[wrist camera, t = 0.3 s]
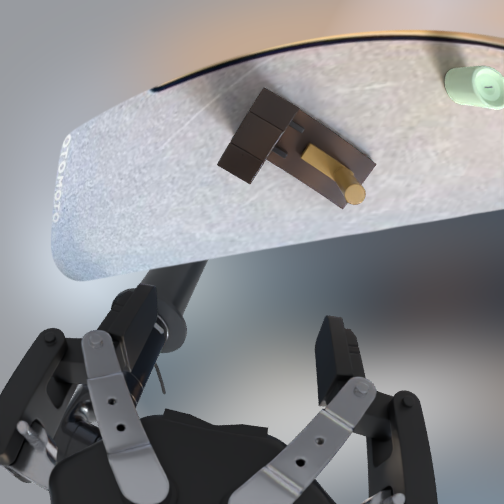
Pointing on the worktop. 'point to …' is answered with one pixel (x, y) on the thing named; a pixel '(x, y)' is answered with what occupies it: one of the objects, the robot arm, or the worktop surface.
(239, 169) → the latch
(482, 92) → the candle
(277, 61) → the worktop surface
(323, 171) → the bolt
